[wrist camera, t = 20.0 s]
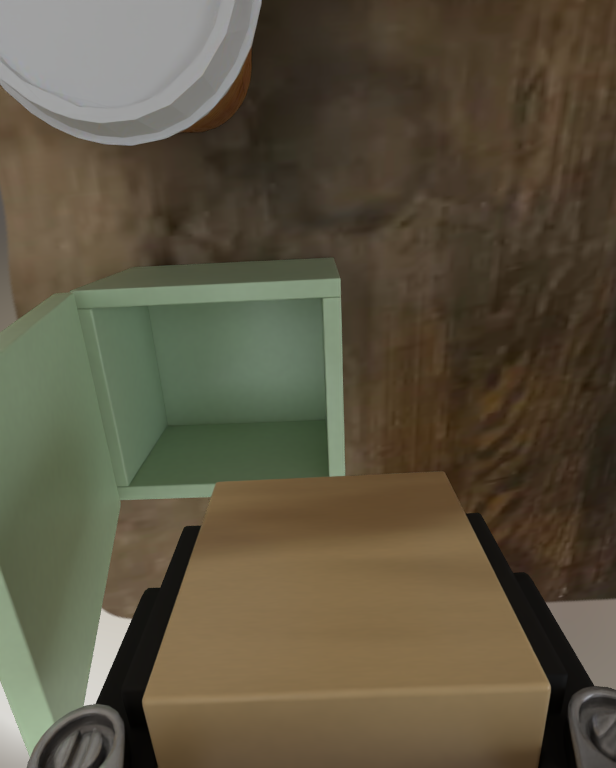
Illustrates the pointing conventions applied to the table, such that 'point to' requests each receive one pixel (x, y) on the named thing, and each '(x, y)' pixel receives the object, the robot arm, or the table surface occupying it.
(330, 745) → the block
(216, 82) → the disposable coffee cup
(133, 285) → the chest
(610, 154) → the table surface
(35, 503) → the lid
